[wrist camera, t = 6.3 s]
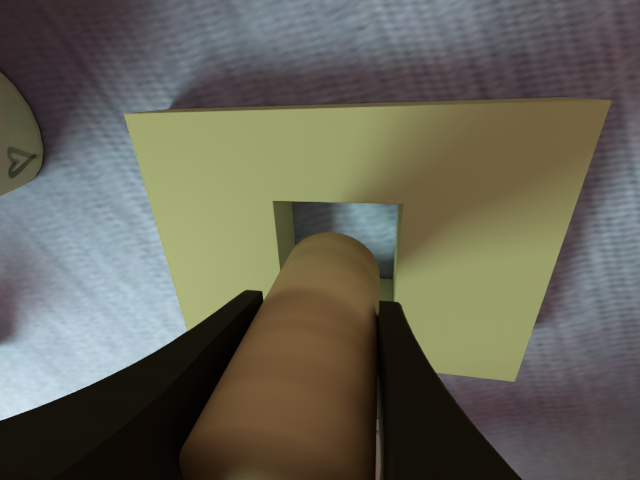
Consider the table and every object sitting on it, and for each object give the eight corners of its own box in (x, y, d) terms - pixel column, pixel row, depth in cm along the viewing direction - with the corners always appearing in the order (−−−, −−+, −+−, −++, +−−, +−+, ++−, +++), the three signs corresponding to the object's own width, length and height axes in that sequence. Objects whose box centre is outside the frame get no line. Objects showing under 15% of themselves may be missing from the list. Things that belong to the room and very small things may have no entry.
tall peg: (379, 314, 14) (376, 558, 7) (292, 310, 14) (205, 524, 7) (379, 231, 12) (373, 443, 5) (280, 232, 13) (152, 414, 6)
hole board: (495, 339, 18) (514, 381, 16) (214, 312, 21) (191, 343, 19) (564, 96, 13) (611, 100, 10) (167, 109, 16) (123, 113, 13)
